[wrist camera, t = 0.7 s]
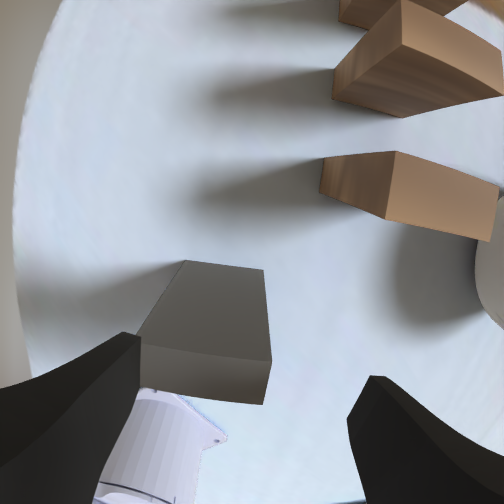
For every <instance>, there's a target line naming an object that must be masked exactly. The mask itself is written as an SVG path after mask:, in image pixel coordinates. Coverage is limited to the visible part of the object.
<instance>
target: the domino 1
mask: <svg viewBox="0 0 504 504" xmlns="http://www.w3.org/2000/svg"><path fill="white" fill-rule="evenodd" d="M136 335H137V336H140V337H141V359H140V387H144V388H149V389H154V390H158V391H163V392H169V393H174V394H180V395H185V396H191V397H198V398H204V399H212V400H219V401H227V402H236V403H246V404H256V405H263V401H264V397H265V393H266V388H267V383H268V379H269V374H270V370H271V365H272V355H271V344H270V334H269V323H268V313H267V302H266V292H265V282H264V272H263V270H259V269H251V268H244V267H236V266H228V265H220V264H212V263H205V262H197V261H190V260H185V262H184V263H183V265H182V266H181V268H180V269H179V270H178V272H177V273H176V275H175V276H174V278H173V279H172V281H171V282H170V284H169V285H168V287H167V288H166V290H165V291H164V293H163V294H162V296H161V297H160V299H159V300H158V302H157V303H156V305H155V306H154V308H153V309H152V311H151V312H150V314H149V315H148V317H147V318H146V320H145V321H144V323H143V325H142V326H141V328H140V329H139V331H138V332H137V334H136Z"/></svg>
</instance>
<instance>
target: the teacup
mask: <svg viewBox="0 0 504 504" xmlns="http://www.w3.org/2000/svg"><path fill="white" fill-rule="evenodd" d="M475 282H476V288H477V292H478V296H479V299H480V301H481V304H482V306H483V308H484V309H485V311H486V312H487V314H488V315H489V316H490V317H491V319H492V320H494V321H495V322H496V323H497V324H498V325H499V326H500V327H501V328H503V329H504V195H503V196H502V197H501V198H500V199H499V200H498V202H497V208H496V214H495V219H494V224H493V229H492V234H491V238H490V242H486V241H482V240H479V241H478V245H477V250H476V257H475Z"/></svg>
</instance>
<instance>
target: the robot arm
mask: <svg viewBox="0 0 504 504" xmlns="http://www.w3.org/2000/svg"><path fill="white" fill-rule="evenodd" d="M140 359H141V337H140V336H137V335H133V334H130V333H126V332H121V333H119V334H118V335H116V336H114V337H112V338H111V339H109V340H107V341H106V342H104V343H102V344H101V345H99V346H97V347H95V348H94V349H92V350H90V351H89V352H87V353H85V354H83V355H81V356H80V357H78V358H76V359H74V360H72V361H70V362H68V363H66V364H64V365H62V366H60V367H58V368H56V369H54V370H52V371H50V372H48V373H45V374H43V375H41V376H38V377H36V378H33V379H31V380H27V381H25V382H22V383H19V384H16V385H12V386H9V387H5V388H1V389H0V504H194V502H195V496H196V489H197V482H198V476H199V469H200V463H201V457H202V451H203V450H206V449H208V448H211V447H213V446H216V445H218V444H221V443H223V442H226V441H227V435H226V434H225V433H224V432H222V431H221V430H220V429H218V428H217V427H216V426H215V425H213V424H212V423H211V422H210V421H208V420H207V419H206V418H205V417H203V416H202V415H201V414H200V413H198V412H197V411H196V410H195V409H194V408H192V407H191V406H190V405H189V404H188V403H186V402H185V401H184V400H183V399H182V398H181V397H180V396H178V395H177V394H174V393H169V392H163V391H158V390H154V389H149V388H144V387H143V388H141V389H140V390H139V388H140ZM347 426H348V434H349V440H350V445H351V449H352V452H353V456H354V459H355V463H356V466H357V470H358V473H359V476H360V480H361V483H362V486H363V490H364V493H365V497H366V502H367V504H504V456H502V455H499V454H497V453H495V452H493V451H490V450H488V449H486V448H484V447H482V446H480V445H478V444H477V443H475V442H473V441H471V440H470V439H468V438H466V437H465V436H463V435H461V434H460V433H458V432H457V431H455V430H454V429H453V428H451V427H450V426H448V425H447V424H446V423H444V422H443V421H442V420H440V419H439V418H438V417H436V416H435V415H434V414H433V413H431V412H430V411H429V410H428V409H426V408H425V407H424V406H423V405H421V404H420V403H419V402H418V401H417V400H415V399H414V398H413V397H412V396H410V395H409V394H408V393H407V392H406V391H404V390H403V389H402V388H401V387H399V386H398V385H397V384H396V383H394V382H393V381H392V380H390V379H389V378H387V377H386V376H372V375H370V376H369V378H368V380H367V382H366V384H365V386H364V388H363V390H362V392H361V394H360V396H359V397H358V399H357V401H356V403H355V405H354V407H353V408H352V410H351V412H350V414H349V415H348V417H347ZM217 439H218V440H217Z"/></svg>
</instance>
